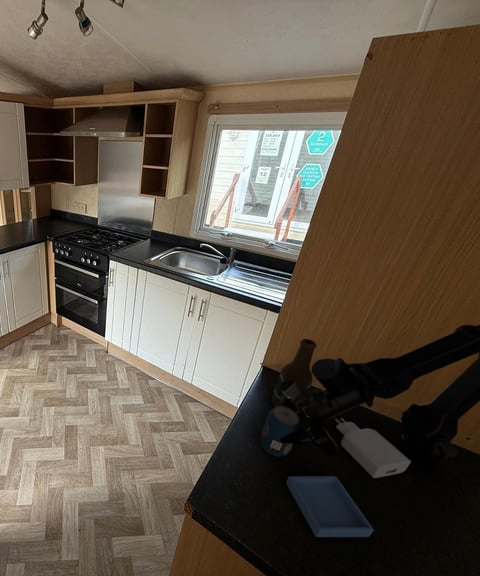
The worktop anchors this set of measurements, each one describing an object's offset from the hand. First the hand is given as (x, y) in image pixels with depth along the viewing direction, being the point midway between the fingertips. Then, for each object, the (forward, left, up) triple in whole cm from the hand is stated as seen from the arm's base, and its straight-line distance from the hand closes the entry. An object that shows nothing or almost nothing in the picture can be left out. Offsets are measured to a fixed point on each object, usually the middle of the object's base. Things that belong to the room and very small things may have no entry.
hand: (274, 429), depth 79 cm
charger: (-21, -12, -7) cm, 25 cm away
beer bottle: (-3, -18, -7) cm, 19 cm away
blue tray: (-12, +10, -7) cm, 17 cm away
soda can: (-1, -1, -7) cm, 7 cm away
